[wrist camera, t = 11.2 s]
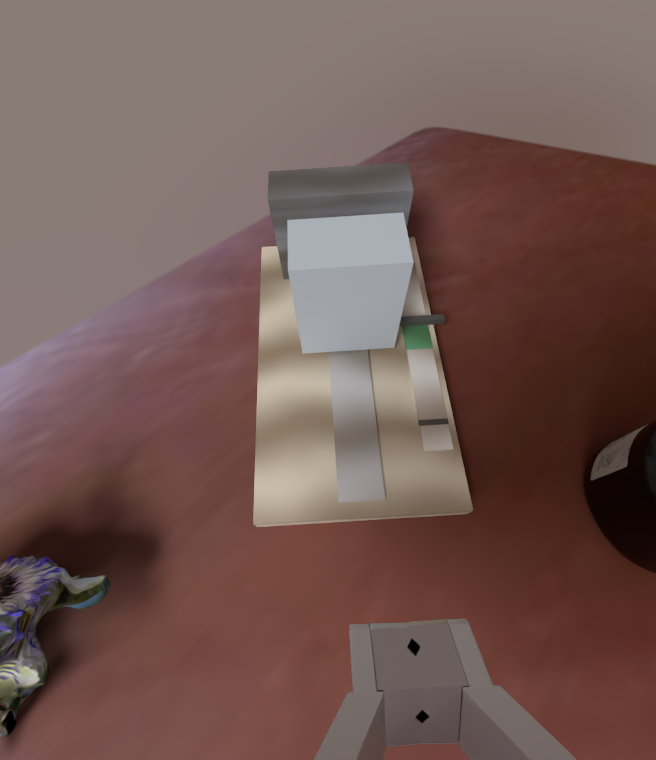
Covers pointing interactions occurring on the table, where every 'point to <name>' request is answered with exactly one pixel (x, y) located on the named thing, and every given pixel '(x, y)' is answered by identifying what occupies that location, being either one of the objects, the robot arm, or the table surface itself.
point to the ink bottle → (626, 494)
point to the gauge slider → (351, 281)
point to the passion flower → (33, 623)
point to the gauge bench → (349, 384)
